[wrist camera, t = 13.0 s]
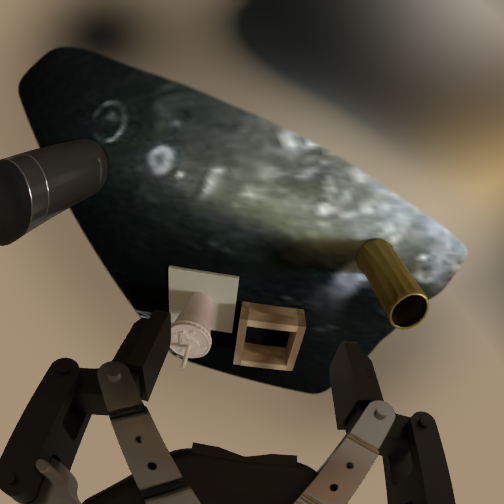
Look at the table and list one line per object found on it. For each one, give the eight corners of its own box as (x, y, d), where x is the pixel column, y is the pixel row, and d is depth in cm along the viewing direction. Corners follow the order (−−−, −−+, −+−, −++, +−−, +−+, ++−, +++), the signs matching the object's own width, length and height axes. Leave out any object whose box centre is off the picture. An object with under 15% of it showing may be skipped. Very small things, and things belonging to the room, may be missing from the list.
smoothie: (191, 320, 49) (171, 383, 36) (175, 290, 46) (146, 350, 34) (226, 313, 48) (213, 378, 35) (211, 280, 45) (191, 343, 32)
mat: (170, 320, 50) (169, 322, 49) (169, 265, 45) (168, 267, 45) (232, 330, 50) (232, 333, 49) (239, 276, 45) (238, 278, 45)
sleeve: (236, 346, 51) (233, 363, 47) (242, 301, 47) (239, 318, 43) (291, 353, 51) (292, 370, 47) (303, 309, 47) (306, 327, 43)
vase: (388, 275, 44) (422, 332, 31) (353, 273, 44) (379, 333, 31) (397, 240, 41) (439, 289, 28) (360, 236, 41) (394, 288, 28)
